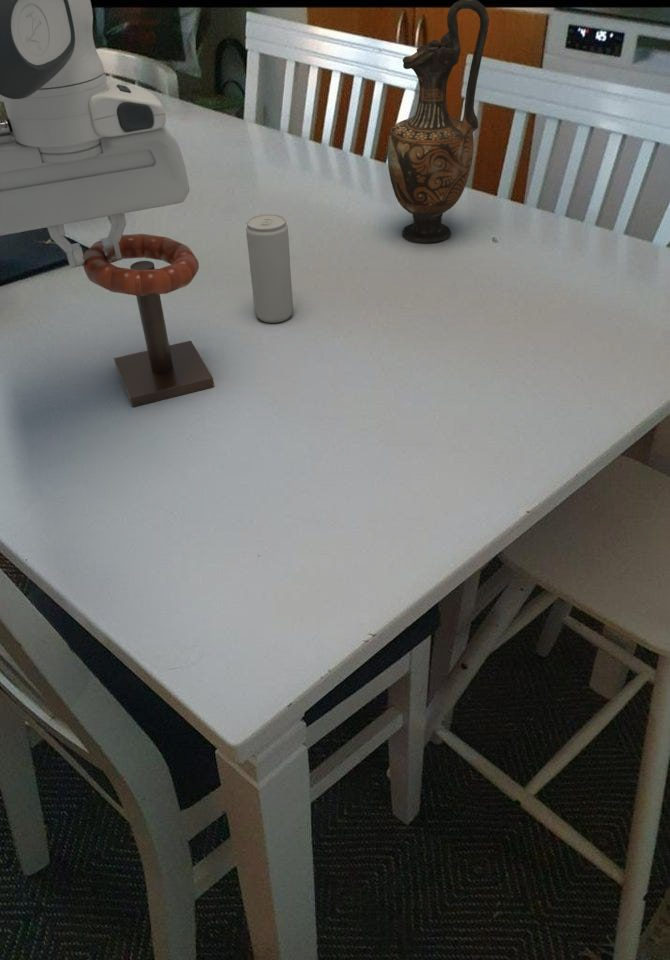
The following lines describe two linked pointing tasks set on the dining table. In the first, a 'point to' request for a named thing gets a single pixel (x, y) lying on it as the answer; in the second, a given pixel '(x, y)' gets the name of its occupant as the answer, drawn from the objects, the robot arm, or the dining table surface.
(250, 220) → the beverage can
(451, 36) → the vase
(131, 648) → the dining table surface
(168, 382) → the post
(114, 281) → the ring
